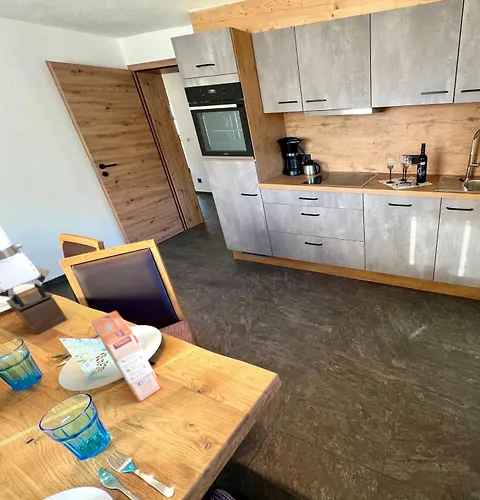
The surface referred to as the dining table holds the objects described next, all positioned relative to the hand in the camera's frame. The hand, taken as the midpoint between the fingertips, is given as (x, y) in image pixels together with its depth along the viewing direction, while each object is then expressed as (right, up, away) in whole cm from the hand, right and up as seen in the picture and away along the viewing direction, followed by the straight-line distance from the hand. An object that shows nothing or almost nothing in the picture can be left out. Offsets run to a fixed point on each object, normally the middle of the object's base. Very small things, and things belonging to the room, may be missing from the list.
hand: (32, 299), depth 99 cm
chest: (-3, -10, +8) cm, 13 cm away
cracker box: (+50, -21, -17) cm, 57 cm away
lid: (-3, 0, +2) cm, 4 cm away
